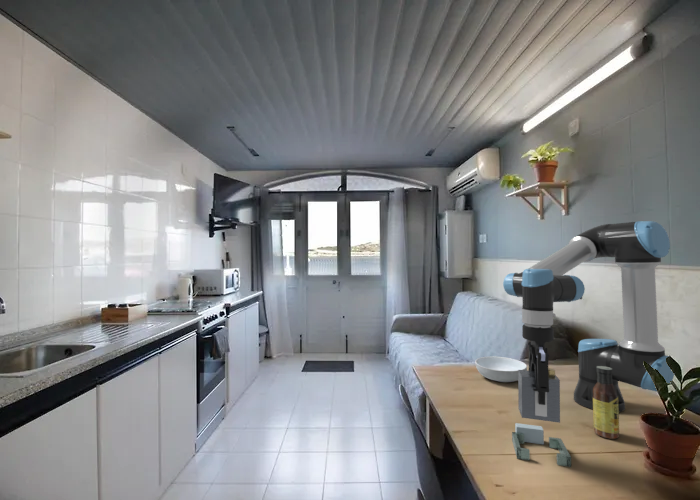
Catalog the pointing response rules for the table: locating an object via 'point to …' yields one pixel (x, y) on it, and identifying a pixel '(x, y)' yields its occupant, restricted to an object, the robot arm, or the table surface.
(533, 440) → the light grey rectangular block
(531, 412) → the grey box with knob
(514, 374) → the serving bowl
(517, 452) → the socket
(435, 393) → the table surface
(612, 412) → the sauce bottle
